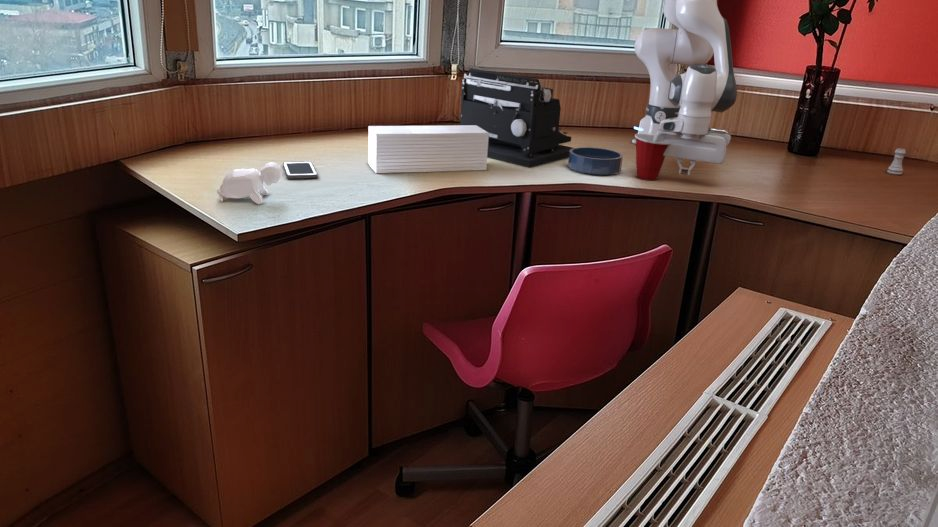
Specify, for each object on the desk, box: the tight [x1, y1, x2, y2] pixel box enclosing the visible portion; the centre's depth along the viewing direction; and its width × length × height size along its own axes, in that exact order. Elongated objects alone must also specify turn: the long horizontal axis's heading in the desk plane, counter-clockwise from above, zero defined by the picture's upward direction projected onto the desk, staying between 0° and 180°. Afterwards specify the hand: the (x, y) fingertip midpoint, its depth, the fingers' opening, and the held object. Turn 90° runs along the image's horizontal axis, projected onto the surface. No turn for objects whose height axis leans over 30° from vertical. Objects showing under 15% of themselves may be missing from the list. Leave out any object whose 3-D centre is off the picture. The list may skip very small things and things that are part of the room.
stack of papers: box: [367, 124, 489, 174], centre depth 202 cm, size 32×11×11 cm, turn 109°
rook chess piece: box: [886, 147, 907, 176], centre depth 230 cm, size 4×4×8 cm
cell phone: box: [282, 160, 318, 180], centre depth 191 cm, size 8×15×1 cm, turn 18°
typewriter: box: [459, 67, 574, 168], centre depth 225 cm, size 31×27×25 cm
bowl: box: [567, 146, 624, 176], centre depth 212 cm, size 16×16×5 cm
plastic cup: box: [634, 133, 670, 181], centre depth 205 cm, size 11×11×12 cm
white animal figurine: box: [215, 161, 284, 205], centre depth 166 cm, size 9×8×15 cm
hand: (684, 174), depth 203 cm, fingers closed
